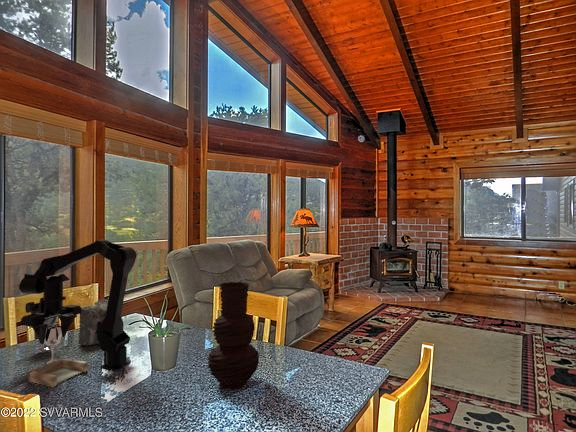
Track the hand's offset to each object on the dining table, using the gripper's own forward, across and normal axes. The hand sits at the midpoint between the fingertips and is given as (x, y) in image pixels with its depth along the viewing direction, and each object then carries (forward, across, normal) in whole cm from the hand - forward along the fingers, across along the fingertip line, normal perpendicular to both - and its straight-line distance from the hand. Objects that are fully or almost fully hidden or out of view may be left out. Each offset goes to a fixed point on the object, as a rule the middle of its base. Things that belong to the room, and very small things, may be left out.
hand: (52, 340), depth 131 cm
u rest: (+8, +8, +12) cm, 16 cm away
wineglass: (+8, 0, 0) cm, 8 cm away
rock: (+8, -26, -3) cm, 27 cm away
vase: (+8, -6, +65) cm, 66 cm away
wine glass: (+8, -9, -14) cm, 18 cm away
